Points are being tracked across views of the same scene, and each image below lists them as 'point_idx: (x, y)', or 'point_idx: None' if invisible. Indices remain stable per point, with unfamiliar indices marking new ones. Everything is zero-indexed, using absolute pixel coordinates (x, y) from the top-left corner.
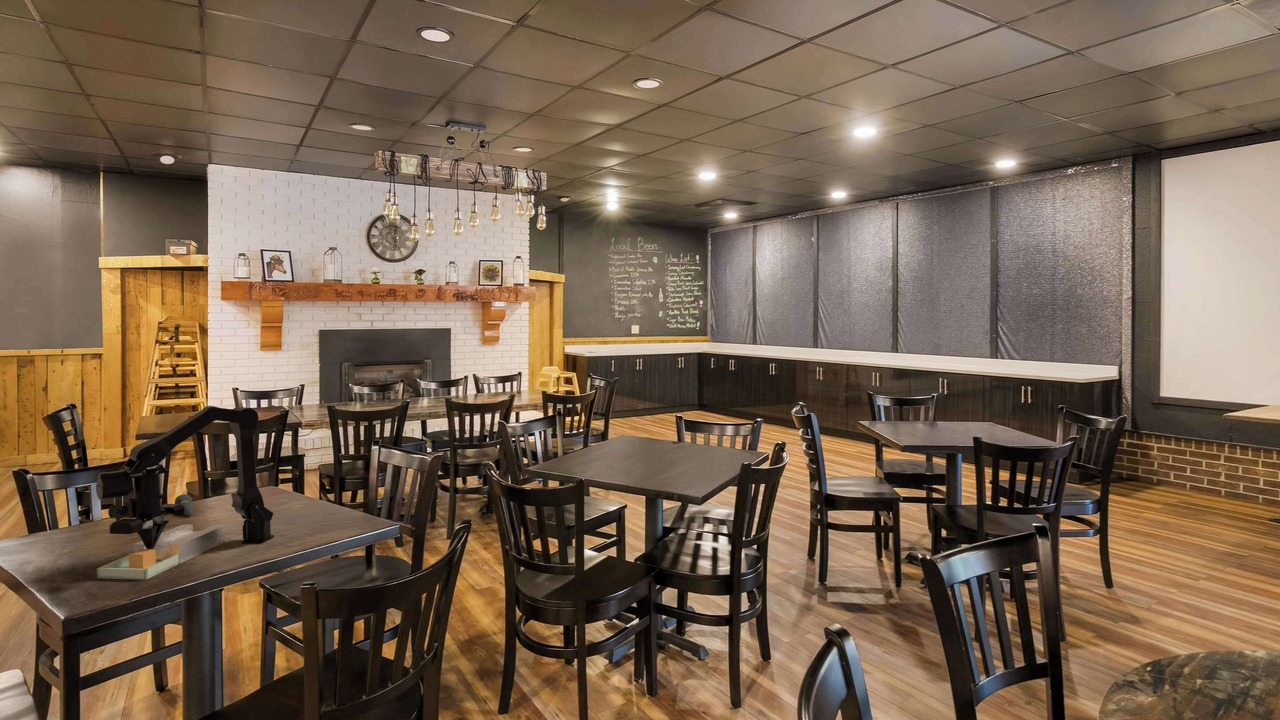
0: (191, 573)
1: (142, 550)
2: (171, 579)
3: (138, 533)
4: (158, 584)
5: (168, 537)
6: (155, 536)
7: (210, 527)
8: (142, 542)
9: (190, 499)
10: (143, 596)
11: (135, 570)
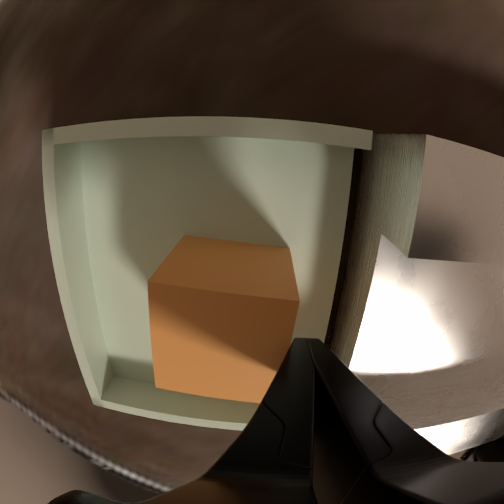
0: (198, 462)
1: (253, 333)
2: (137, 438)
3: (209, 474)
4: (93, 421)
5: None
6: (315, 476)
7: None
8: (465, 201)
9: None
10: (32, 413)
11: (82, 362)
